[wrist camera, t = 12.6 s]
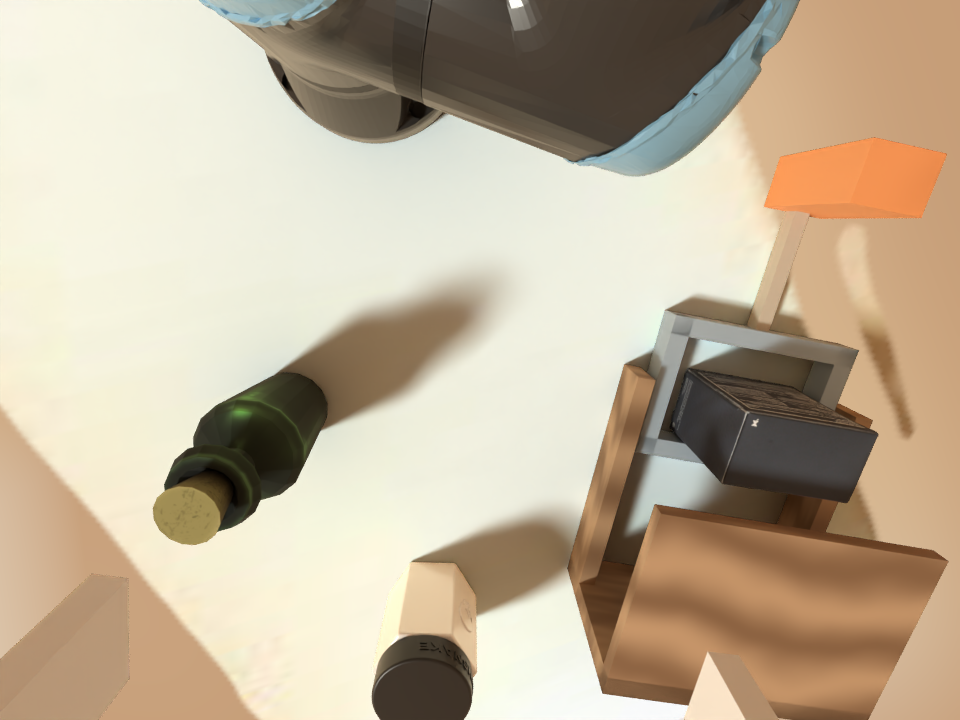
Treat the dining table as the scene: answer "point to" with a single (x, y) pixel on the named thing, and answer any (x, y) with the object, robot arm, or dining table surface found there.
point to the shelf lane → (742, 593)
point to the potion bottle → (241, 457)
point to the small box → (770, 436)
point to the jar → (426, 646)
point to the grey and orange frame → (800, 193)
